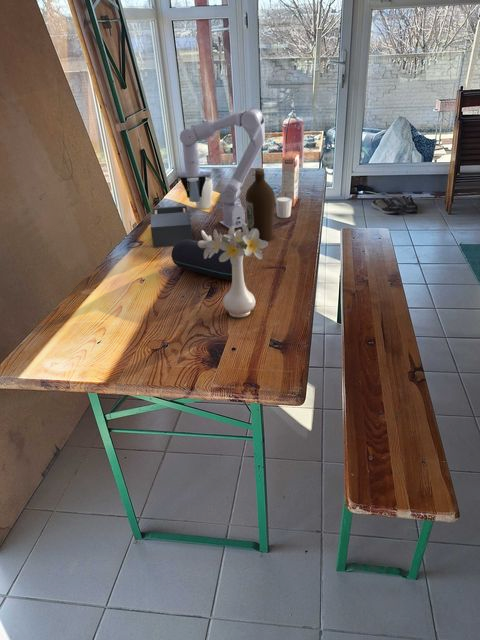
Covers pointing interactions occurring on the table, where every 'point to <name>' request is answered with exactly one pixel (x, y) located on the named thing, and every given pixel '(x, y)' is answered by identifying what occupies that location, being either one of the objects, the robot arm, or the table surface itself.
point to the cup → (205, 194)
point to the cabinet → (170, 228)
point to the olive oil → (260, 206)
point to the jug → (193, 190)
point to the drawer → (169, 209)
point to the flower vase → (235, 264)
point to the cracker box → (290, 175)
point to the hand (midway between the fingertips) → (194, 196)
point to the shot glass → (283, 207)
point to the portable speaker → (200, 260)
